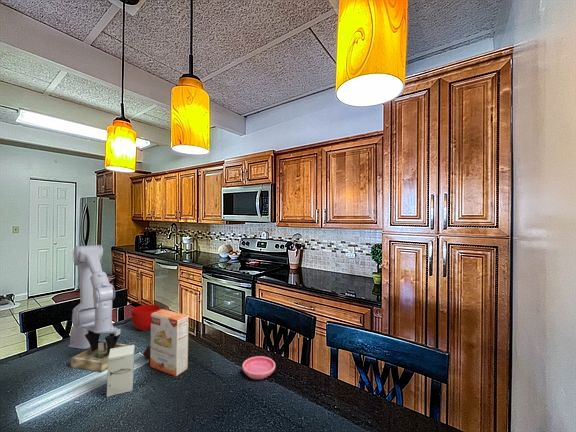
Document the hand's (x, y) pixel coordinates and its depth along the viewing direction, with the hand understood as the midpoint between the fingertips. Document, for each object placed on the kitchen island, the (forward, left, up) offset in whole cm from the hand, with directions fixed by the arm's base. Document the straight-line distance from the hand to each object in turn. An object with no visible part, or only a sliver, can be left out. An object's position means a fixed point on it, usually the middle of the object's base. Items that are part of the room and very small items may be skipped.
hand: (102, 351), depth 107 cm
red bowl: (-4, +30, -4) cm, 31 cm away
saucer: (+63, +7, -4) cm, 64 cm away
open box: (0, 0, -3) cm, 3 cm away
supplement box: (+21, -13, -4) cm, 25 cm away
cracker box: (+29, +1, -4) cm, 29 cm away
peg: (0, 0, -3) cm, 3 cm away
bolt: (+15, +12, -4) cm, 20 cm away
